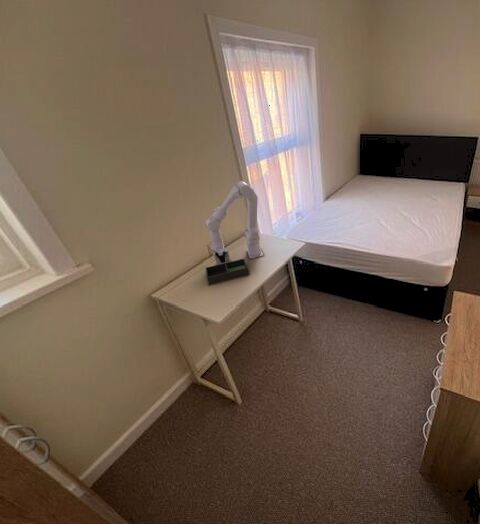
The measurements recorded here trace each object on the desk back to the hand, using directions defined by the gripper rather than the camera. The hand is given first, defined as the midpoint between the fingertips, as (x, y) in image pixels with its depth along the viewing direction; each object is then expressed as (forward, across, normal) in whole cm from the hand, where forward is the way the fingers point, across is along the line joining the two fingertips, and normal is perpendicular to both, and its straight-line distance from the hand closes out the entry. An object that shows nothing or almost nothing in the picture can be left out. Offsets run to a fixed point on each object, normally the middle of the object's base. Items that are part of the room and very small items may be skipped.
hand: (222, 260), depth 162 cm
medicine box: (+3, 0, 0) cm, 3 cm away
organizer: (+3, +12, +1) cm, 12 cm away
